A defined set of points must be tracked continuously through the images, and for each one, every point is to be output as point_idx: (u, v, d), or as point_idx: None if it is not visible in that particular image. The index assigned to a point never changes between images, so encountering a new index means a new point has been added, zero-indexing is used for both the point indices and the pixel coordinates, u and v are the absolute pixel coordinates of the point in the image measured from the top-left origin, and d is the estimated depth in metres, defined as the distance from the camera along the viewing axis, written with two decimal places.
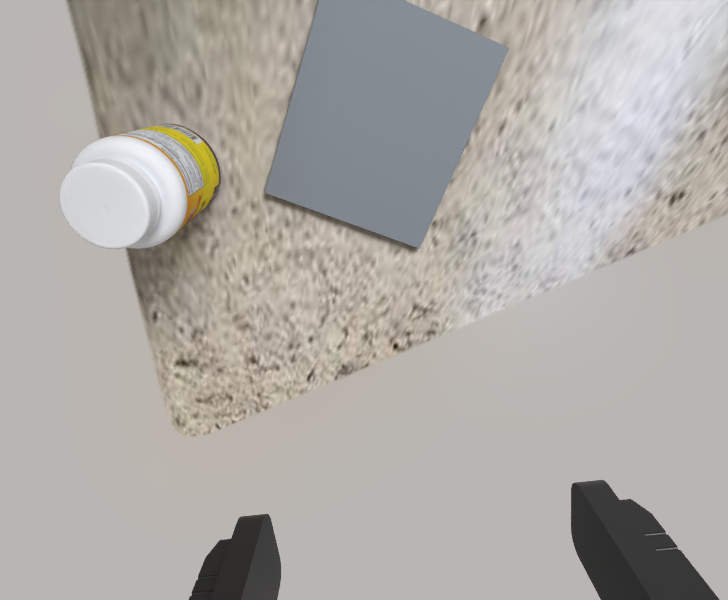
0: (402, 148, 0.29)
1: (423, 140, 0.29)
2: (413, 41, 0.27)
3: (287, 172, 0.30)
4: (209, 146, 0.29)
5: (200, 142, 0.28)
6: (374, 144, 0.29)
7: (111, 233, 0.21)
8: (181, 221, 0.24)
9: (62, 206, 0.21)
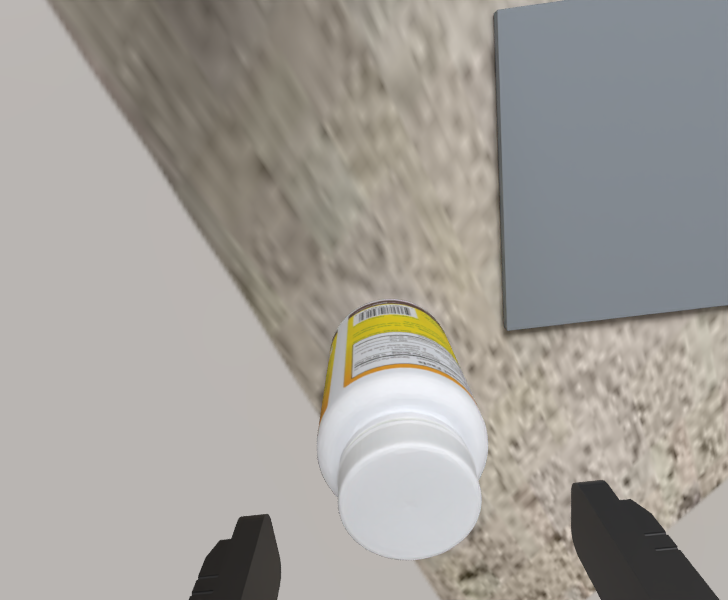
0: (680, 184, 0.19)
1: (708, 159, 0.19)
2: (649, 38, 0.18)
3: (529, 292, 0.21)
4: (421, 309, 0.21)
5: (415, 312, 0.20)
6: (638, 198, 0.20)
7: (431, 536, 0.13)
8: None
9: (349, 529, 0.13)
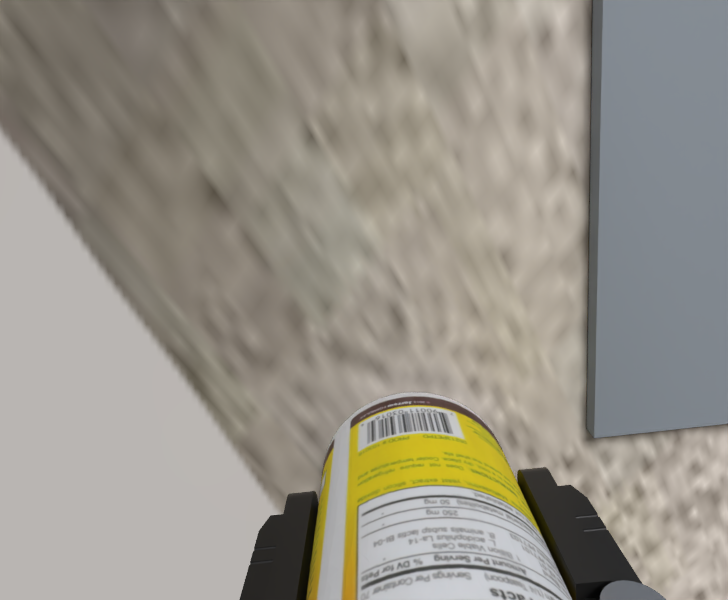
0: None
1: None
2: None
3: (631, 382, 0.13)
4: (465, 411, 0.13)
5: (458, 422, 0.12)
6: None
7: None
8: None
9: None
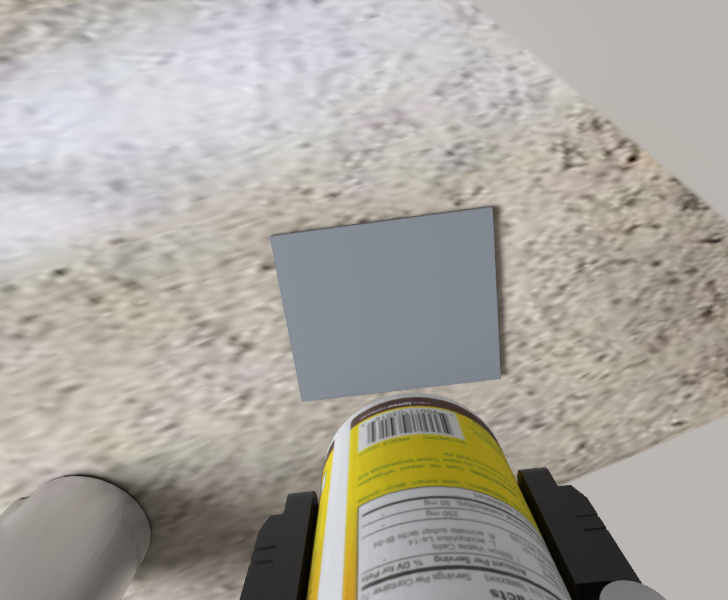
0: (400, 280, 0.28)
1: (383, 265, 0.28)
2: (312, 317, 0.29)
3: (472, 367, 0.30)
4: (465, 412, 0.13)
5: (458, 423, 0.12)
6: (409, 306, 0.28)
7: None
8: None
9: None
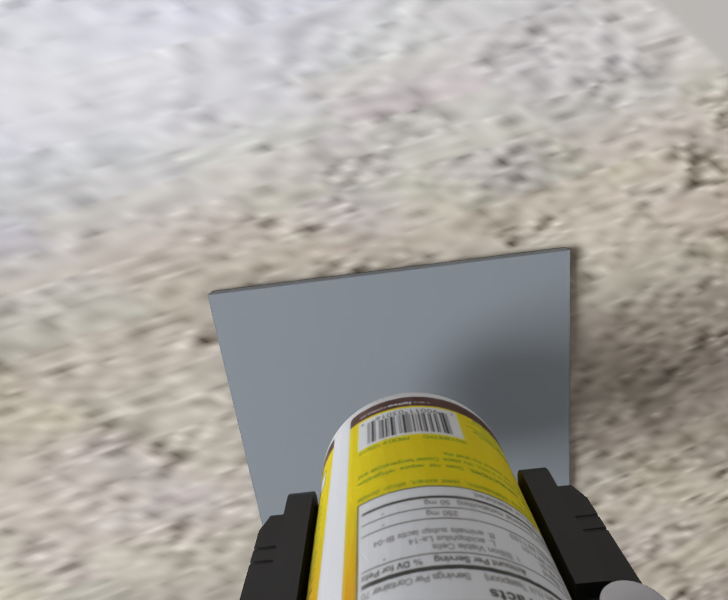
0: (418, 363, 0.18)
1: (391, 340, 0.17)
2: (279, 418, 0.18)
3: None
4: (465, 411, 0.13)
5: (458, 423, 0.12)
6: None
7: None
8: None
9: None
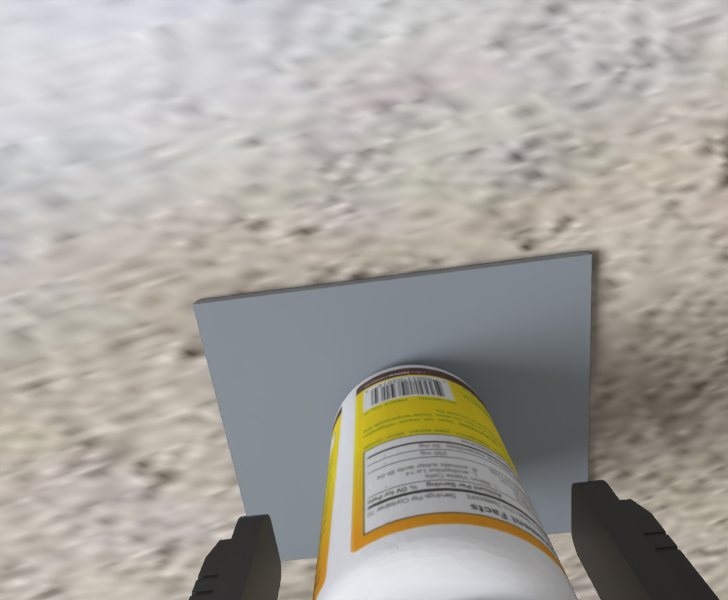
0: None
1: (394, 353, 0.16)
2: (272, 437, 0.17)
3: (541, 513, 0.18)
4: (456, 380, 0.15)
5: (450, 388, 0.14)
6: None
7: None
8: None
9: None
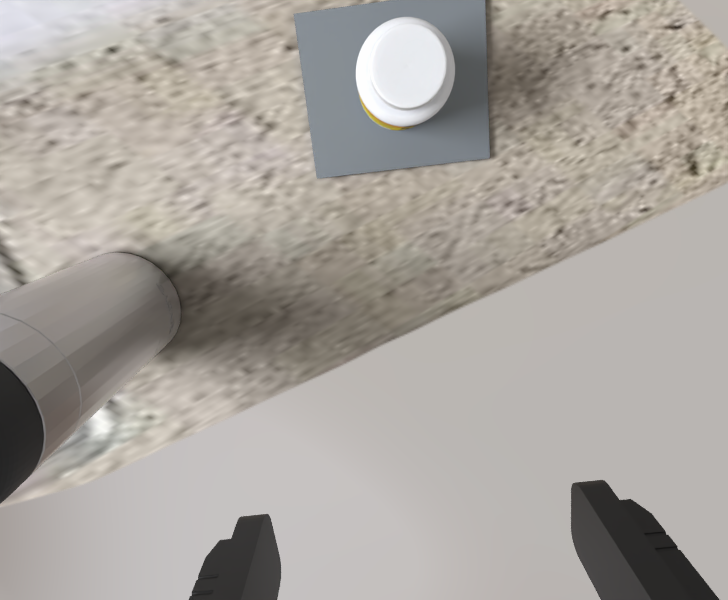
0: None
1: None
2: (328, 94, 0.33)
3: (465, 146, 0.34)
4: None
5: None
6: None
7: (420, 88, 0.24)
8: (454, 74, 0.26)
9: (375, 83, 0.24)
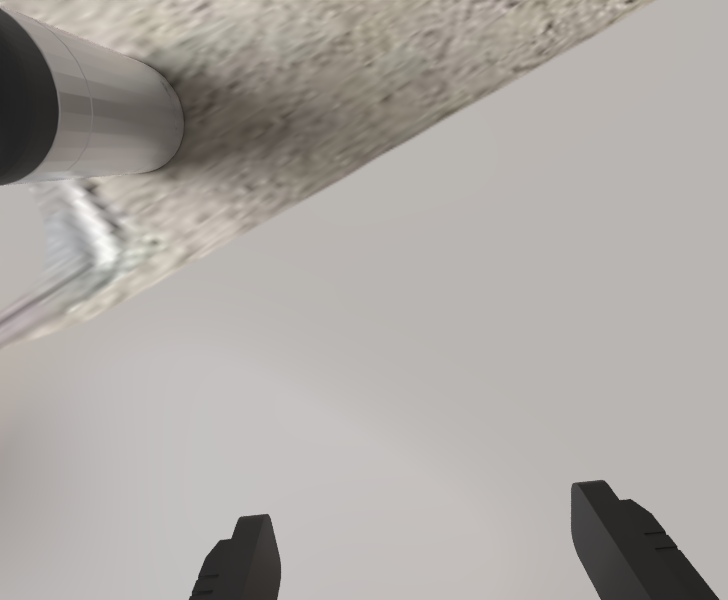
0: None
1: None
2: None
3: None
4: None
5: None
6: None
7: None
8: None
9: None
